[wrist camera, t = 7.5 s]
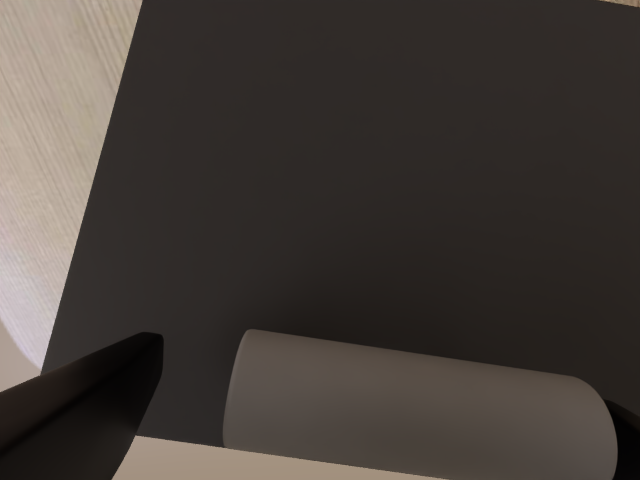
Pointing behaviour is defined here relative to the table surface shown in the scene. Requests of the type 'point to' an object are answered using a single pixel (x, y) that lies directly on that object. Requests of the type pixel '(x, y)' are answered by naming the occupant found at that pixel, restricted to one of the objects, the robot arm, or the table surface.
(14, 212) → the table surface
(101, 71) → the table surface
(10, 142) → the table surface
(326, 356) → the lid
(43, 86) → the table surface
